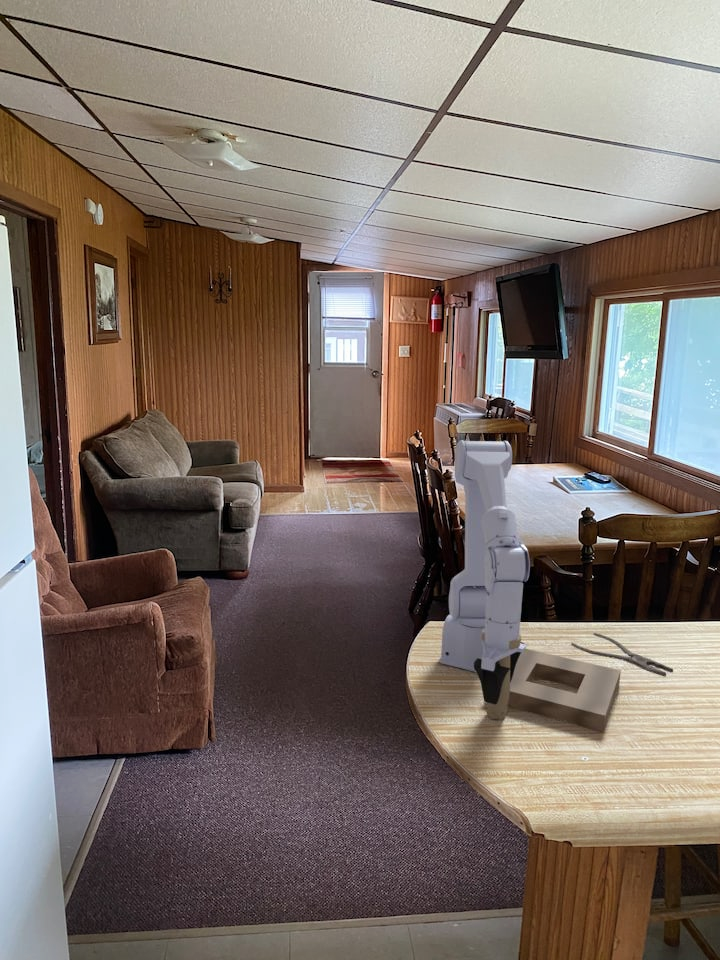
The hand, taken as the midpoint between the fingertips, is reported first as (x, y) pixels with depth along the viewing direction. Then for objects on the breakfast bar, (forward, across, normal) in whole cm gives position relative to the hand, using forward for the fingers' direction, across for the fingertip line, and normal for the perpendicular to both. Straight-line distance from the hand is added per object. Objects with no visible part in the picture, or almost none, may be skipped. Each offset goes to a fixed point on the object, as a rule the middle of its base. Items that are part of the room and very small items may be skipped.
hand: (497, 692), depth 119 cm
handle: (+5, 0, 0) cm, 5 cm away
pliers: (+5, +37, -16) cm, 41 cm away
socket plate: (+4, +13, -7) cm, 15 cm away
